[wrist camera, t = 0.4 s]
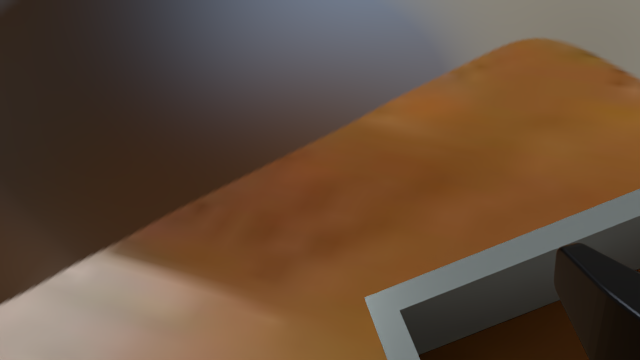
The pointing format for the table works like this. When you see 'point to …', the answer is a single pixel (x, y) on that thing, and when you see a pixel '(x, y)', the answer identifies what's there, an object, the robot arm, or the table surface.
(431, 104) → the table surface
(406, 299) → the frame
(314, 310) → the table surface
